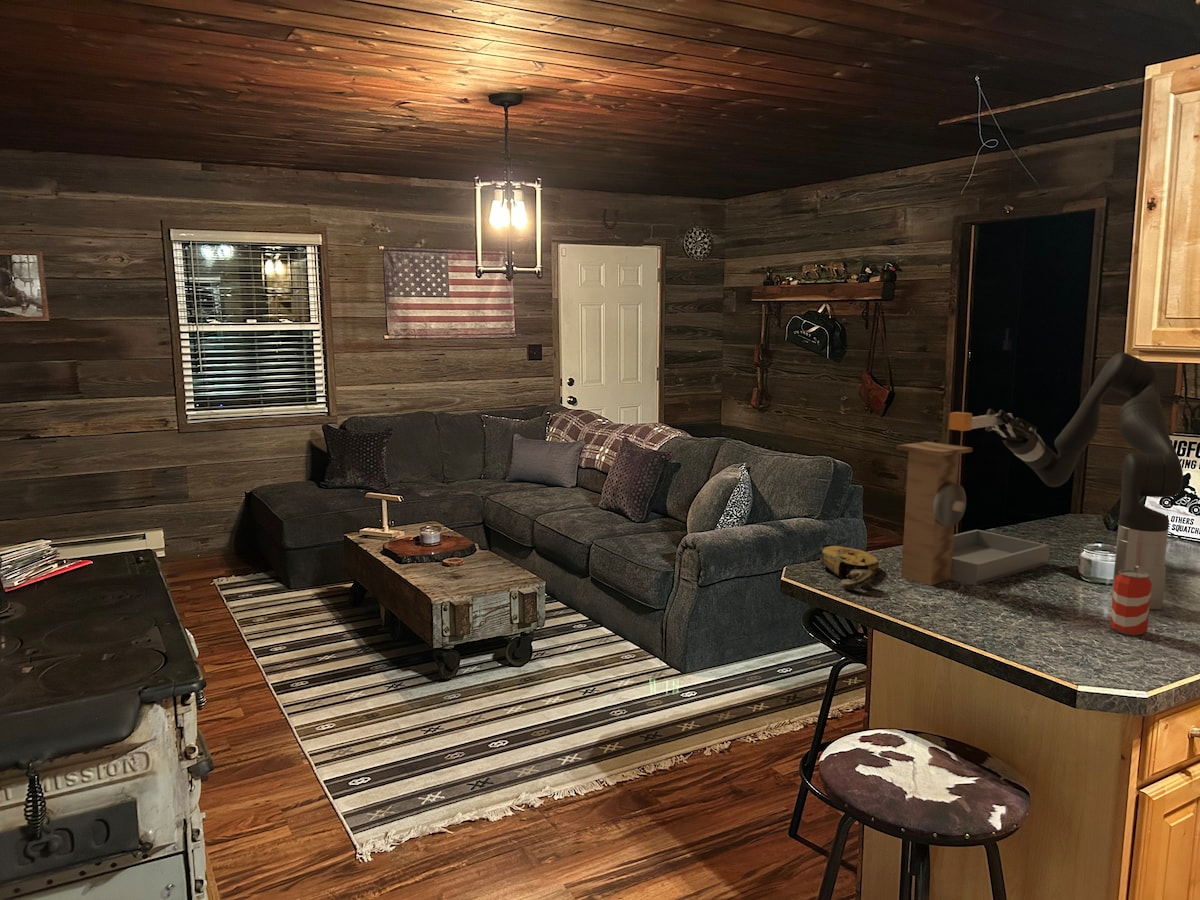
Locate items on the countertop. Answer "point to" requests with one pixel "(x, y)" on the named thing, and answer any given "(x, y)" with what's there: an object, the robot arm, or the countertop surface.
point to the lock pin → (972, 421)
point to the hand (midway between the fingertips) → (994, 412)
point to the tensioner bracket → (931, 510)
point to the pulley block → (849, 565)
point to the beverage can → (1131, 602)
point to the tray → (993, 556)
